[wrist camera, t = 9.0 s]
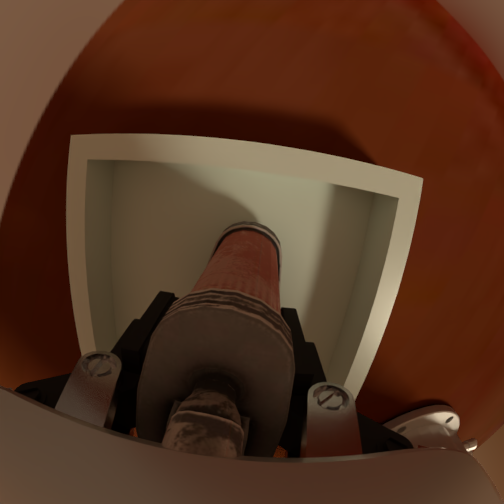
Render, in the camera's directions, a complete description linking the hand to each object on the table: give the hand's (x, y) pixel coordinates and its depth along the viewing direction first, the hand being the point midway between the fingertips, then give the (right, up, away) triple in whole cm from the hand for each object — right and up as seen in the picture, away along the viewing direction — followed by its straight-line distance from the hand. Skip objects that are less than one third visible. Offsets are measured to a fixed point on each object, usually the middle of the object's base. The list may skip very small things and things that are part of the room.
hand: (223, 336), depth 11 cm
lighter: (0, +1, +2) cm, 2 cm away
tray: (0, +1, +4) cm, 4 cm away
